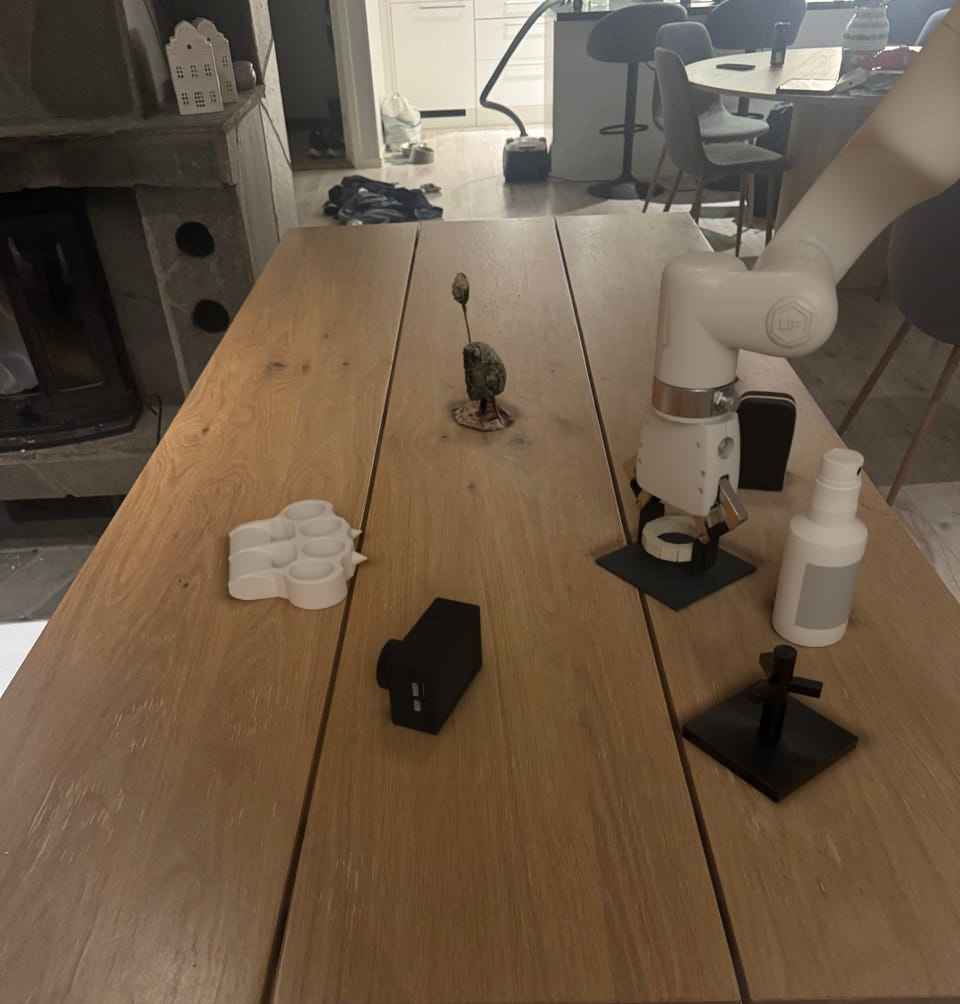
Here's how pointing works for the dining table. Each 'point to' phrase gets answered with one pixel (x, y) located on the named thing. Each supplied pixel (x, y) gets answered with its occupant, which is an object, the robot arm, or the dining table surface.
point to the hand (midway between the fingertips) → (675, 553)
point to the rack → (772, 730)
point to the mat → (673, 572)
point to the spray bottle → (823, 556)
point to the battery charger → (765, 438)
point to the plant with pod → (480, 376)
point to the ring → (663, 548)
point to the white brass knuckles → (294, 556)
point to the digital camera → (432, 665)
